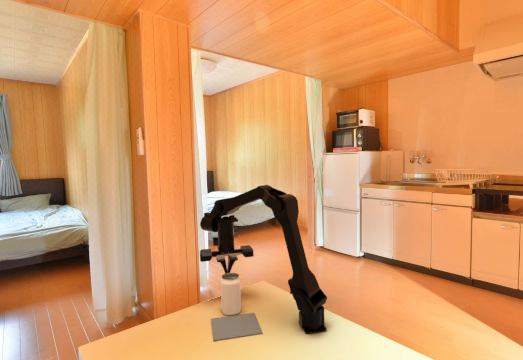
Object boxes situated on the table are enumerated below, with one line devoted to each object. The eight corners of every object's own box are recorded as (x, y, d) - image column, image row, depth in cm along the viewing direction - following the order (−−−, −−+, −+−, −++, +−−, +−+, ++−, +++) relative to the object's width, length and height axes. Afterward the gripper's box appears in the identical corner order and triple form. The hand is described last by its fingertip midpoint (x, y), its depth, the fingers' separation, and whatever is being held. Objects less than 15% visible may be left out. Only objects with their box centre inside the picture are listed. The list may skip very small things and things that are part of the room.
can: (240, 316, 99) (239, 279, 98) (220, 316, 99) (218, 279, 98) (242, 306, 105) (241, 272, 104) (223, 306, 105) (221, 272, 104)
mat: (254, 313, 100) (254, 312, 100) (262, 333, 88) (262, 332, 88) (210, 319, 97) (210, 318, 97) (213, 341, 85) (213, 340, 85)
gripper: (247, 226, 120) (248, 266, 121) (198, 230, 116) (200, 271, 117) (253, 233, 109) (254, 276, 110) (199, 238, 105) (201, 282, 106)
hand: (227, 276), depth 111 cm, fingers closed
